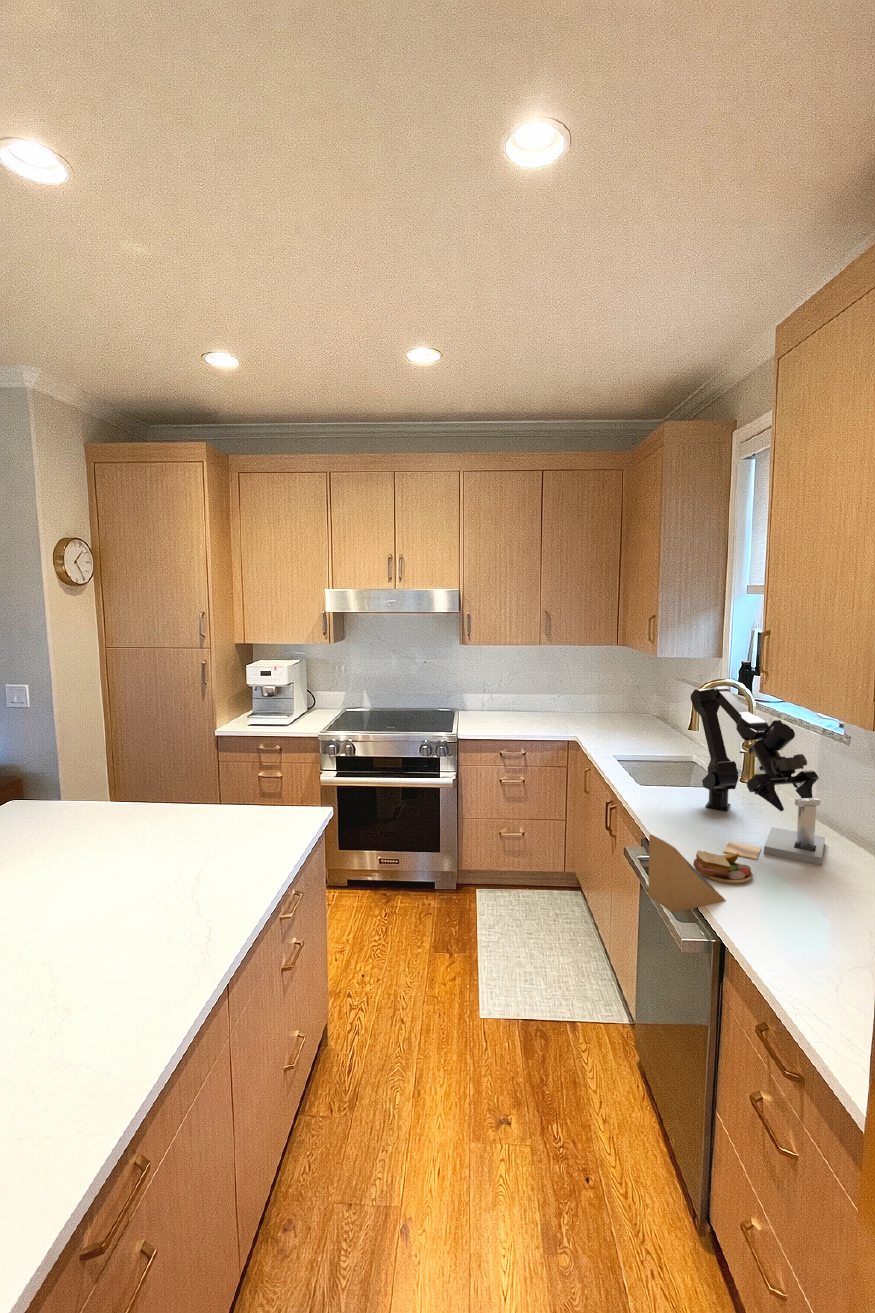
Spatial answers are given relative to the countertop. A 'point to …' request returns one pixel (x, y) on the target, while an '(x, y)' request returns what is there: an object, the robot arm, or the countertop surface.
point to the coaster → (742, 850)
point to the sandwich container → (676, 879)
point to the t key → (806, 823)
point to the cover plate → (793, 846)
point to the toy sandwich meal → (722, 868)
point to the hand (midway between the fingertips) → (797, 809)
